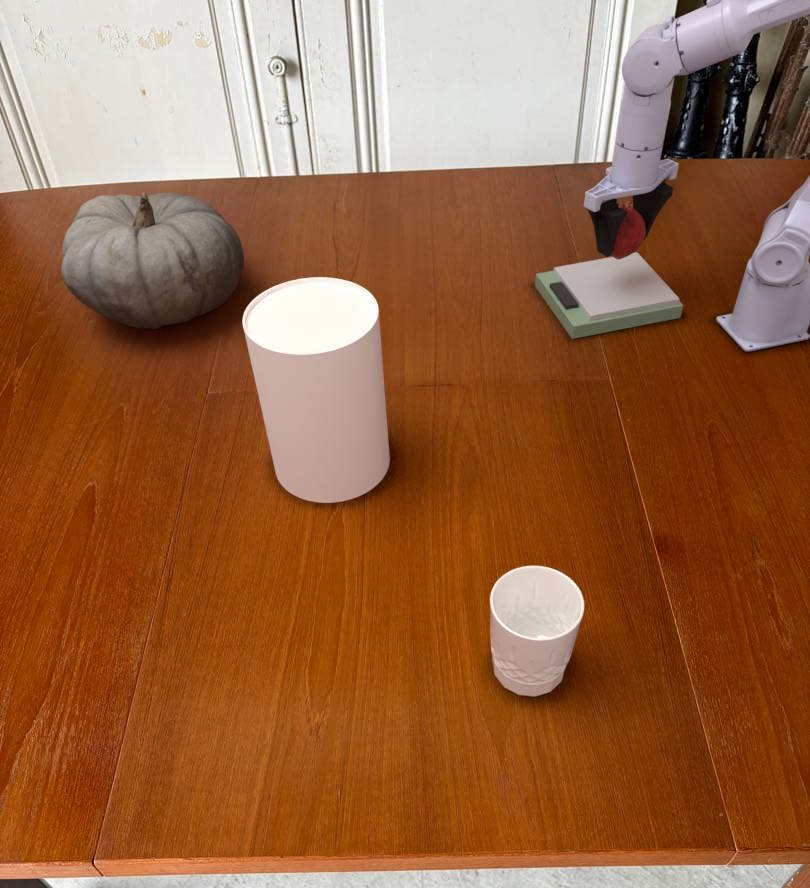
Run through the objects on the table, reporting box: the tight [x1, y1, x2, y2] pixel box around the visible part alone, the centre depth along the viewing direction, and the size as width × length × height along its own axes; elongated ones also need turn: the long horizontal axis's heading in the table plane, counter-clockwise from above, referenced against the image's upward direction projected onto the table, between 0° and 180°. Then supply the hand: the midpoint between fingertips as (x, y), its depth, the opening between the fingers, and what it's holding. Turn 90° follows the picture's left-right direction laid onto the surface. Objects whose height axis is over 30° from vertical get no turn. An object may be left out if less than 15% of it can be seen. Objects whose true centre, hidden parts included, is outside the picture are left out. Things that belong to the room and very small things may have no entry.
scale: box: [534, 251, 684, 340], centre depth 115 cm, size 16×14×3 cm
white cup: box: [489, 565, 585, 697], centre depth 72 cm, size 8×8×10 cm
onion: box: [610, 199, 646, 259], centre depth 108 cm, size 6×6×8 cm
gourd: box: [60, 192, 245, 330], centre depth 114 cm, size 25×25×17 cm
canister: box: [242, 276, 391, 504], centre depth 88 cm, size 14×14×20 cm
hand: (621, 245), depth 109 cm, fingers closed on onion, 6 cm apart
